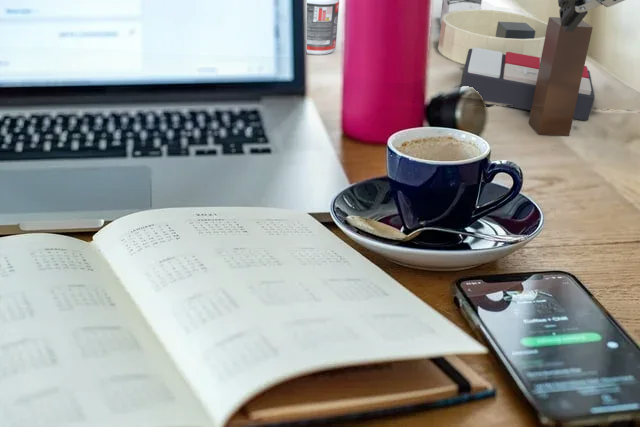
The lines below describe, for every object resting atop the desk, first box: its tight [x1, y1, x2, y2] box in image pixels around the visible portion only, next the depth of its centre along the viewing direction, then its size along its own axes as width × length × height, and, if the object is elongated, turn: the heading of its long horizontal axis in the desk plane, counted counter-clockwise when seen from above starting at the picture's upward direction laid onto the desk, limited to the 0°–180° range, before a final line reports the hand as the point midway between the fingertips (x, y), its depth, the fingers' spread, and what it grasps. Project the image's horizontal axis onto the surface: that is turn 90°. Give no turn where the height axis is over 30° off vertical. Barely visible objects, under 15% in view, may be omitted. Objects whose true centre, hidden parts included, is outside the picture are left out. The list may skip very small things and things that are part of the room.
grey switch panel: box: [459, 47, 595, 122], centre depth 105 cm, size 11×4×15 cm
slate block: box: [496, 22, 535, 39], centre depth 119 cm, size 4×4×4 cm
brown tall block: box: [528, 16, 594, 137], centre depth 94 cm, size 4×4×12 cm
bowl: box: [437, 9, 548, 66], centre depth 119 cm, size 15×15×5 cm
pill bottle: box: [306, 0, 340, 56], centre depth 116 cm, size 6×6×10 cm
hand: (609, 25), depth 83 cm, fingers open, 8 cm apart
